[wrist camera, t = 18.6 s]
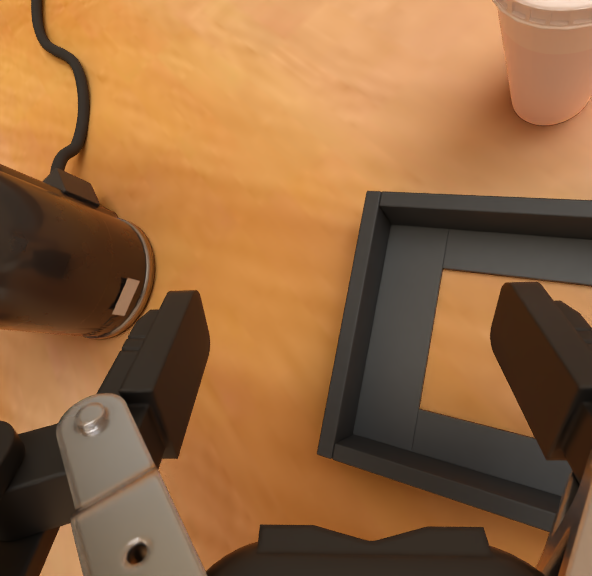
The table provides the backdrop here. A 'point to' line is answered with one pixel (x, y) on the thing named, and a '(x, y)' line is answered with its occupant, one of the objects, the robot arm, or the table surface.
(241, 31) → the table surface
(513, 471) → the dark grey rectangular frame
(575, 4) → the smoothie
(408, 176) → the table surface
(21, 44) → the table surface
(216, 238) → the table surface
